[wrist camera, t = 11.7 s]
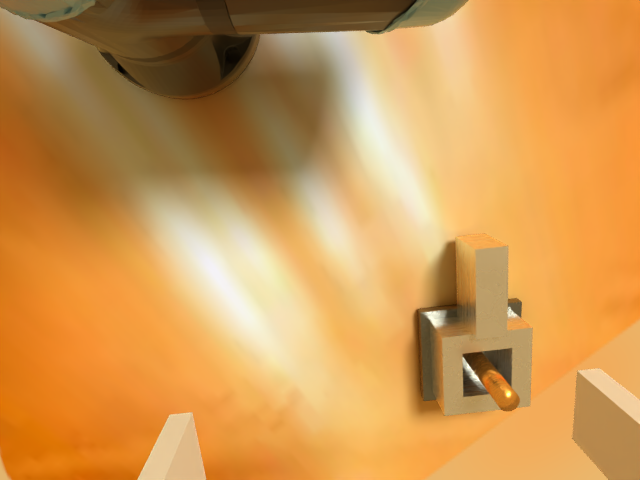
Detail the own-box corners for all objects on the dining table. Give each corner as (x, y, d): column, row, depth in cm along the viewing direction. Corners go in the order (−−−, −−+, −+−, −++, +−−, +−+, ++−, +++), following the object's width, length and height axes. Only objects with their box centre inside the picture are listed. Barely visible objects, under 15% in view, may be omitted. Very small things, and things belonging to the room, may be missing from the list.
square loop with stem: (426, 239, 41) (442, 253, 36) (513, 230, 41) (541, 242, 36) (432, 392, 45) (447, 422, 41) (511, 383, 45) (535, 412, 41)
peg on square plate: (417, 308, 44) (447, 353, 35) (516, 298, 44) (572, 340, 35) (421, 395, 47) (449, 458, 37) (514, 385, 47) (566, 446, 37)
